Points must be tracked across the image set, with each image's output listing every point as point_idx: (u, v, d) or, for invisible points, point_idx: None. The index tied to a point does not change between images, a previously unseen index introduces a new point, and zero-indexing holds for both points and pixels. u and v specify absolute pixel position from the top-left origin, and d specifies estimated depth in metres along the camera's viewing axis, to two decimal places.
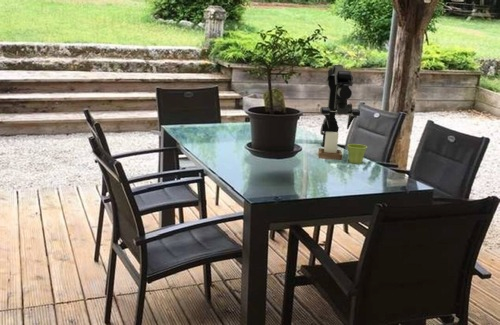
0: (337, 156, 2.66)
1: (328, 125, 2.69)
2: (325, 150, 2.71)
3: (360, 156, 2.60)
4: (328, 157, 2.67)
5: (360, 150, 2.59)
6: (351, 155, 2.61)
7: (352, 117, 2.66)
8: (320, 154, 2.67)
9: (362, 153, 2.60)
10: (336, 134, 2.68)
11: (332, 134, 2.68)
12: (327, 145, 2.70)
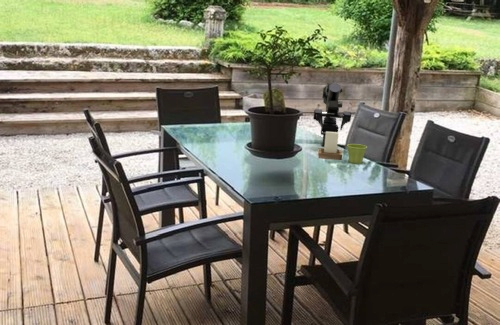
0: (337, 156, 2.66)
1: (321, 125, 2.77)
2: (325, 150, 2.71)
3: (360, 156, 2.60)
4: (328, 157, 2.67)
5: (360, 150, 2.59)
6: (351, 155, 2.61)
7: (344, 116, 2.77)
8: (320, 154, 2.67)
9: (362, 153, 2.60)
10: (336, 134, 2.68)
11: (332, 134, 2.68)
12: (327, 145, 2.70)
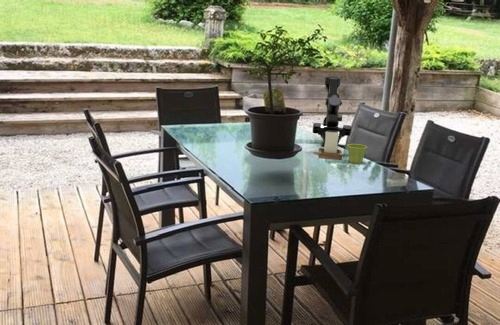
0: (337, 156, 2.66)
1: (324, 139, 2.70)
2: (325, 150, 2.71)
3: (360, 156, 2.60)
4: (328, 157, 2.67)
5: (360, 150, 2.59)
6: (351, 155, 2.61)
7: (341, 130, 2.70)
8: (320, 154, 2.67)
9: (362, 153, 2.60)
10: (336, 134, 2.68)
11: (332, 134, 2.68)
12: (327, 145, 2.70)
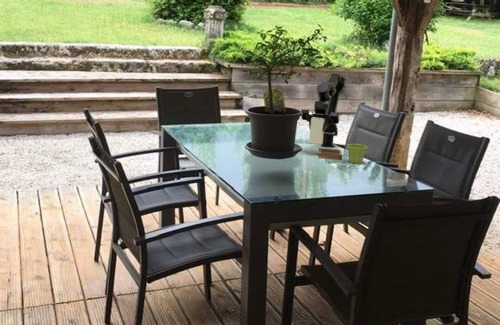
0: (337, 156, 2.66)
1: (309, 125, 2.71)
2: (310, 136, 2.71)
3: (360, 156, 2.60)
4: (328, 157, 2.67)
5: (360, 150, 2.59)
6: (351, 155, 2.61)
7: (327, 117, 2.69)
8: (320, 154, 2.67)
9: (362, 153, 2.60)
10: (321, 121, 2.68)
11: (317, 121, 2.69)
12: (312, 132, 2.71)
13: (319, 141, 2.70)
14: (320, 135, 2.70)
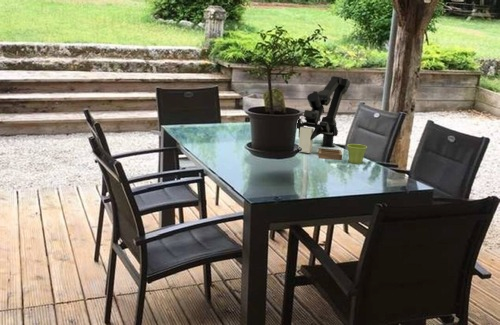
0: (337, 156, 2.66)
1: None
2: (299, 145, 2.75)
3: (360, 156, 2.60)
4: (328, 157, 2.67)
5: (360, 150, 2.59)
6: (351, 155, 2.61)
7: (316, 126, 2.72)
8: (320, 154, 2.67)
9: (362, 153, 2.60)
10: (309, 130, 2.71)
11: (305, 129, 2.72)
12: (301, 140, 2.74)
13: (307, 150, 2.74)
14: (308, 144, 2.73)
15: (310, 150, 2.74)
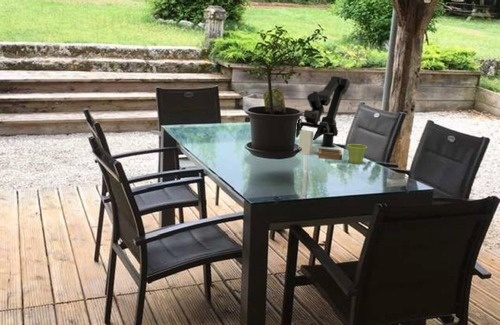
0: (337, 156, 2.66)
1: (296, 133, 2.76)
2: None
3: (360, 156, 2.60)
4: (328, 157, 2.67)
5: (360, 150, 2.59)
6: (351, 155, 2.61)
7: (319, 127, 2.71)
8: (320, 154, 2.67)
9: (362, 153, 2.60)
10: (309, 133, 2.72)
11: (305, 133, 2.73)
12: (301, 143, 2.75)
13: (307, 153, 2.74)
14: (308, 147, 2.73)
15: (310, 153, 2.75)
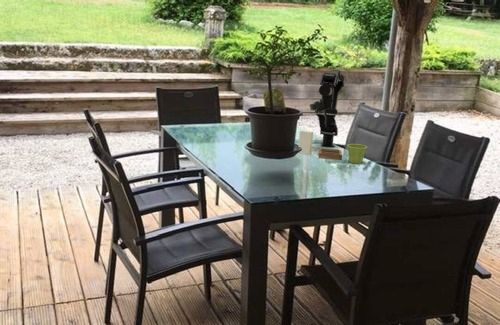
0: (337, 156, 2.66)
1: (319, 124, 2.87)
2: None
3: (360, 156, 2.60)
4: (328, 157, 2.67)
5: (360, 150, 2.59)
6: (351, 155, 2.61)
7: (324, 115, 2.75)
8: (320, 154, 2.67)
9: (362, 153, 2.60)
10: (309, 133, 2.71)
11: (305, 133, 2.72)
12: (301, 143, 2.75)
13: (307, 153, 2.74)
14: (308, 147, 2.73)
15: (310, 153, 2.75)
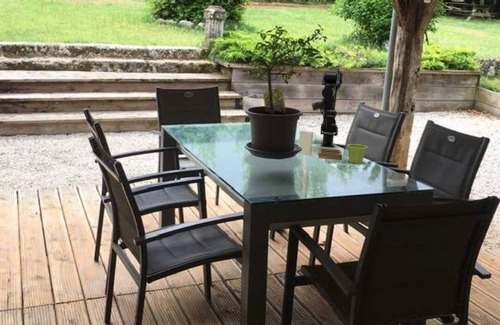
0: (337, 156, 2.66)
1: (323, 122, 2.87)
2: None
3: (360, 156, 2.60)
4: (328, 157, 2.67)
5: (360, 150, 2.59)
6: (351, 155, 2.61)
7: (324, 116, 2.75)
8: (320, 154, 2.67)
9: (362, 153, 2.60)
10: (309, 133, 2.71)
11: (305, 133, 2.72)
12: (301, 143, 2.75)
13: (307, 153, 2.74)
14: (308, 147, 2.73)
15: (310, 153, 2.75)
